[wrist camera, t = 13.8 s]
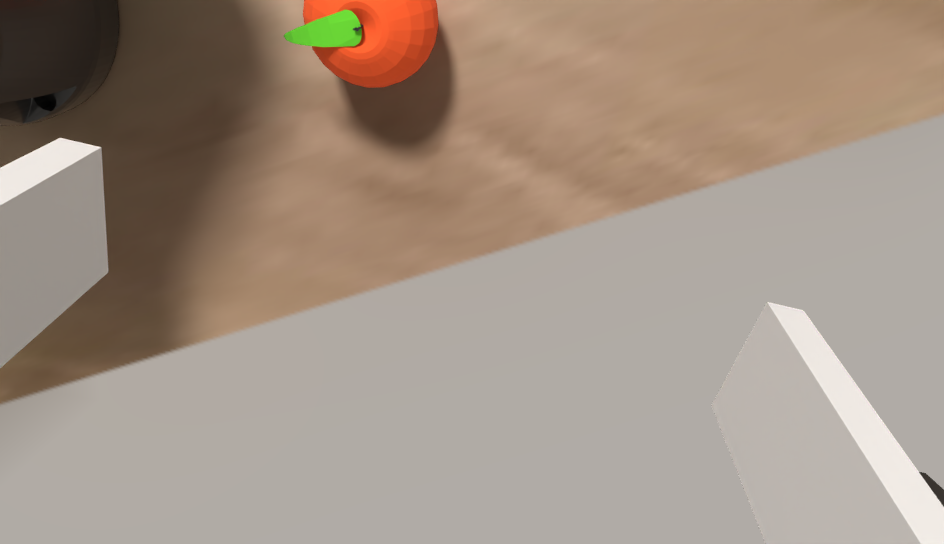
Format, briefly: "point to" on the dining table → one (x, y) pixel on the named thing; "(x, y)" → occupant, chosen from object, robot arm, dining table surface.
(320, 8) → the clementine
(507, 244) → the dining table surface
